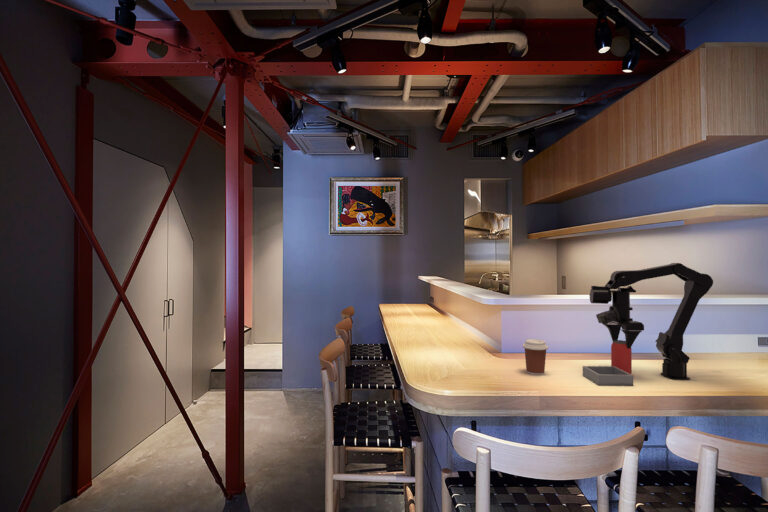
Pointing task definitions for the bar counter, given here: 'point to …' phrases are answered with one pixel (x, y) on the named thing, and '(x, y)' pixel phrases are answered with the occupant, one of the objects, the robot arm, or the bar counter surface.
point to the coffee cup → (535, 356)
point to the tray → (607, 376)
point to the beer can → (621, 356)
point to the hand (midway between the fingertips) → (621, 345)
